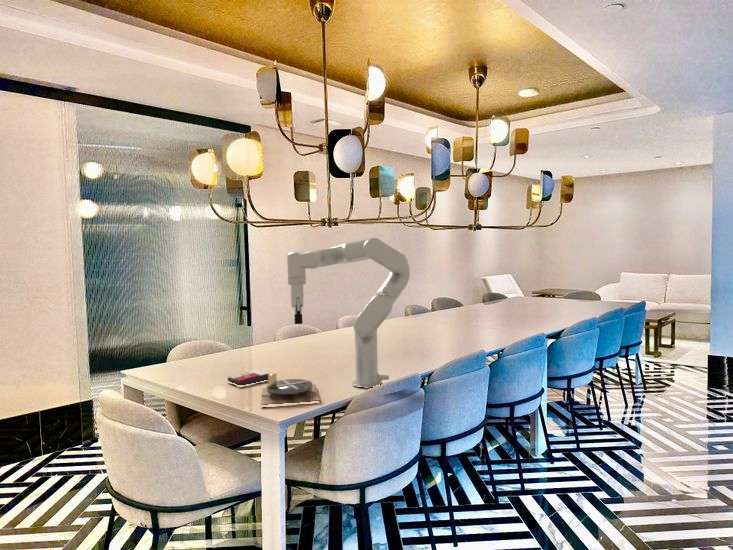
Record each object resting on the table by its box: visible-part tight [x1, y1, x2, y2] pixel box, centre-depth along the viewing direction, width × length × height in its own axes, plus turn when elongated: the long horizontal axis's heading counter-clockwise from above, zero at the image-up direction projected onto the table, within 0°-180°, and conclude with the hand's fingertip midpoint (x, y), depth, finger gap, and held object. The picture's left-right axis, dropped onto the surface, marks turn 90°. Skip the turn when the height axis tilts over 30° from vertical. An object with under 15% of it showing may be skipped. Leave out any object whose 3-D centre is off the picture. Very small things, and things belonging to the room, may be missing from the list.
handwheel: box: [266, 372, 313, 396], centre depth 202 cm, size 18×18×9 cm
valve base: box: [260, 383, 321, 406], centre depth 202 cm, size 22×22×2 cm
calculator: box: [227, 369, 269, 385], centre depth 227 cm, size 11×4×15 cm
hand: (298, 323), depth 217 cm, fingers closed
